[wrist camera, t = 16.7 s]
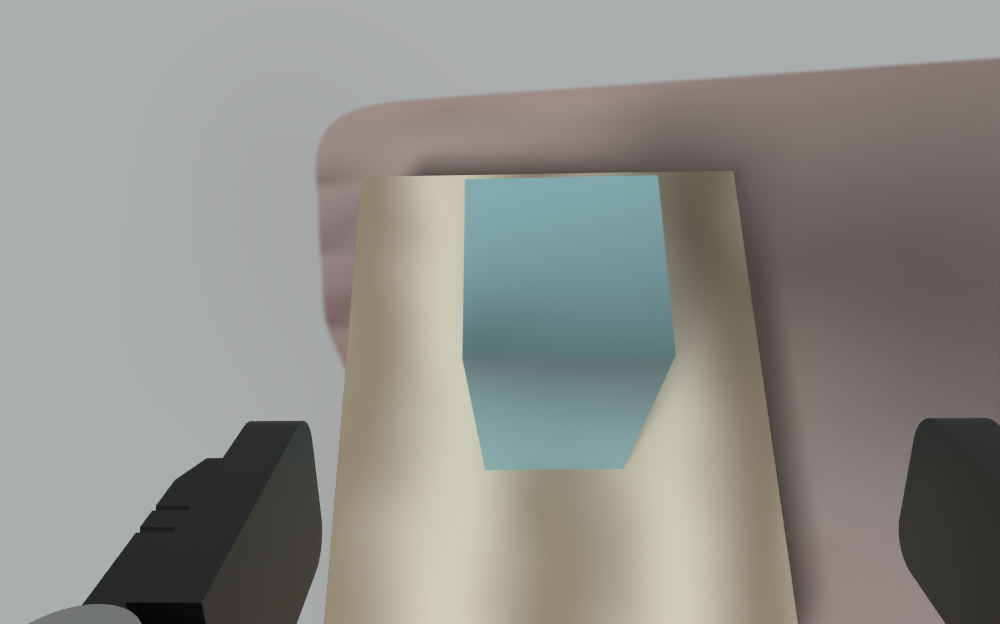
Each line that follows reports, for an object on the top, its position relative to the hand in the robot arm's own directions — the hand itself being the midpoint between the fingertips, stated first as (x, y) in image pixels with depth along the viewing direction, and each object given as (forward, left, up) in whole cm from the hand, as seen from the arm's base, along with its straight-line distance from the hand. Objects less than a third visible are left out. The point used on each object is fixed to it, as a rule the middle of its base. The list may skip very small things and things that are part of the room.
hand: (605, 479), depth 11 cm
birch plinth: (0, -6, -19) cm, 20 cm away
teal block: (0, -6, -15) cm, 16 cm away
